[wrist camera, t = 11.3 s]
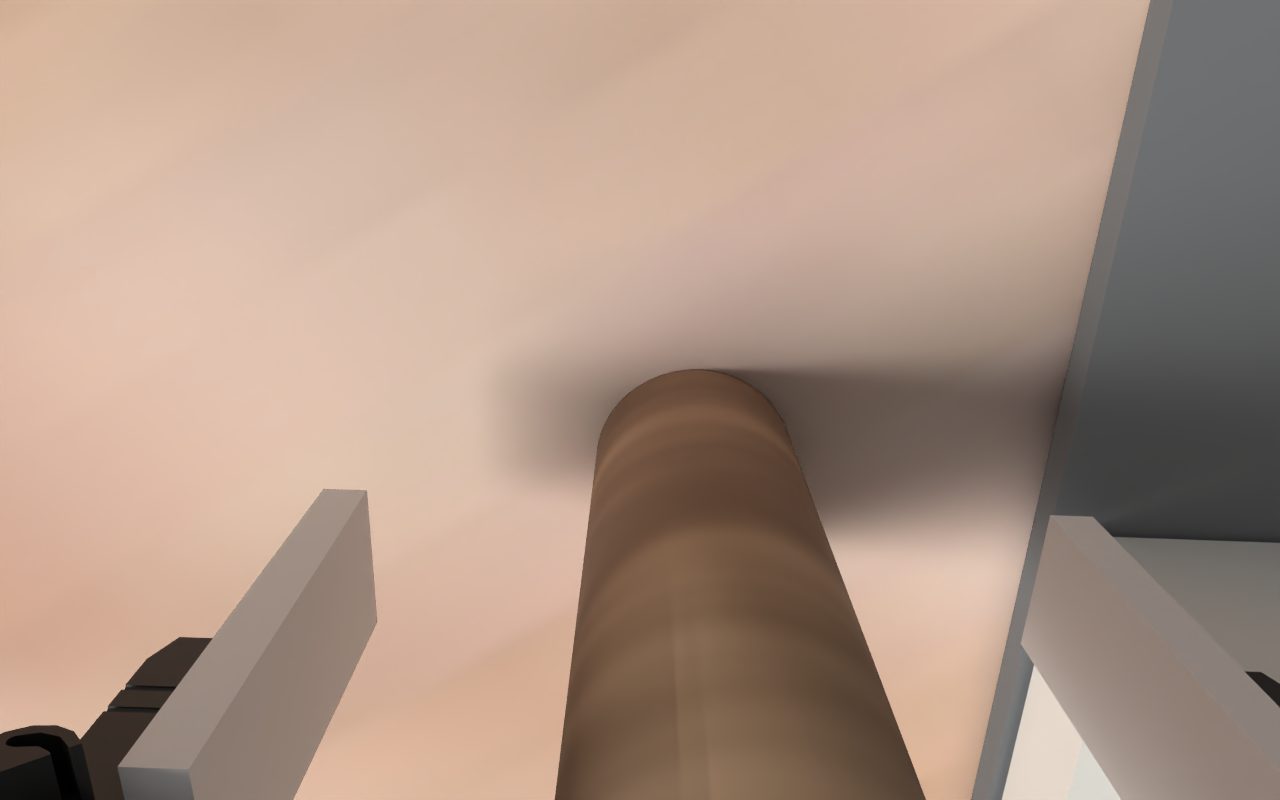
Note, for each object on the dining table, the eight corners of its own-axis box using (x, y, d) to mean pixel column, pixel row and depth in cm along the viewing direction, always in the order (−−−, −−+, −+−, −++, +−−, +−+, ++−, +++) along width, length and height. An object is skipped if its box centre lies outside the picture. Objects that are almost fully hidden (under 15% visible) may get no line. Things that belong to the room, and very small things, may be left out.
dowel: (598, 366, 19) (503, 1003, 6) (799, 373, 19) (1117, 1023, 6) (594, 542, 21) (512, 1344, 8) (780, 549, 21) (1003, 1357, 8)
